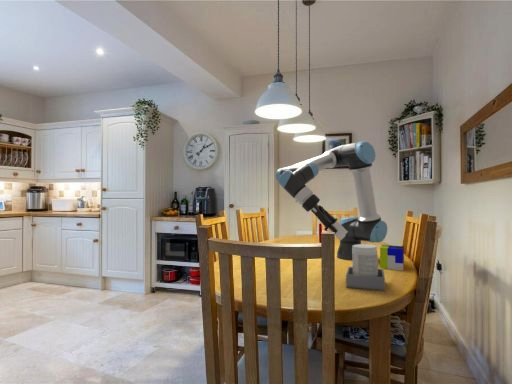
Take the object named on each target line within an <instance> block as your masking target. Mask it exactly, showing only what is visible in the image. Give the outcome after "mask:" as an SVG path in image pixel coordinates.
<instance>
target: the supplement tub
mask: <svg viewBox="0 0 512 384" xmlns="http://www.w3.org/2000/svg"><path fill="white" fill-rule="evenodd" d="M377 247H378V246H377V245H375V244H366V243H365V244H364V243H363V244H362V243H361V244H358V245H353V246H352V260H351V262H352V263H351V264H352V267H353V275H362V276H375V277H378V269H379V265H378V264H379V263H378V262H379V261H378V248H377Z"/></svg>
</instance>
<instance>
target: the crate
mask: <svg viewBox="0 0 512 384" xmlns="http://www.w3.org/2000/svg"><path fill="white" fill-rule="evenodd" d="M345 276H346V277H345V284H346V285H345V286H346V288H347V289H358V290H367V291H368V290H369V291H378V292H385V291H386V283H385V281H386V279H385V271H384V268H378V277H375V276H362V275H353V266H348V268H347V271H346V275H345Z"/></svg>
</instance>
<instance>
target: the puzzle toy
mask: <svg viewBox="0 0 512 384" xmlns="http://www.w3.org/2000/svg"><path fill="white" fill-rule="evenodd" d="M379 260H380V261H379V263H380V264H379V269H383V270H385V269H386V270H393V269H394V271H396V270H397V271H404V269H405V246H404V245H401V246H400V245H389V244H382V245H381V246H380V247H379Z"/></svg>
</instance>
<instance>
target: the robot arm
mask: <svg viewBox="0 0 512 384" xmlns="http://www.w3.org/2000/svg"><path fill="white" fill-rule="evenodd" d="M375 160H376V151H375V148H374V146H373V144H371V143H370V142H369V141H357V142H356V141H355V142H352V143H346V144H341V145H338V146H336V147H334V148H331V149H329V150H326V151H324V153H322V154H321V155H318V156H315V157H312V158H310V159H306V160H304V161H300V162H298V163H295V164H293V165H289V166H286V167H281V168H278V169H277V171H276V172H275V178H276V181H277V182H278V184H279V185H280V186H281V187H282V188H283V189H284V190H285V191H286V192H287V193H288V194H289V195H290V196H291V197H292V198H293V199H294V200H295V201H294V202H295V203H298V204H299V205H300V206H301V207H302V208H303V209H304V210H305V211H306V212H308V213H309V212H310V211H311V212H312V213H313V215H315V217H316V218H317V219H318V220H319V221H320V222H321V224H322V225H323V226H324V228H325V230H329V231H330V232H331V233H332V232H335V235H334V236H335V237H336V238H337V239H338V240H339V245H338V248H337V249H338V250H337V251H336V257H337V258H338V259H341V260H350V261H352V246H353V245H358V244H362V242H368V243H374V244H375V243H382V242H383V241H385V238H386V236H387V234H388V224H387V223H386V222H385V221H384V220H382V218H381V215H380V214H378V212H377V205H376V199H375V194H374V187H373V183H372V182H373V181H372V176H371V168H372V167H373V163H374V162H375ZM337 167H348V170H349V171H350V172H352V176H353V183H354V187H355V188H354V189H355V194H356V199H357V206H358V210H359V211H358V212H359V216H353V217H352V216H351V217H343V218H342V217H341V219H338V218H336V217H334V216H333V215H332V214H331V213H329V212H328V211H327V210H326V209H325V208H324V207H323V206H321V205H319V204H318V203H319V202H320V198H319V197H318V196H317V195H316V194H315V193H314V192H313V191H312V190H311V189H310V188H309V187H308V186H307V183H309V182H310V181H312V180H313V179H315V178H316V177H317V176H318V175H319V172H320V171H323V170H326V169H332V168H333V169H334V168H337ZM338 220H339V222H338Z"/></svg>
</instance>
